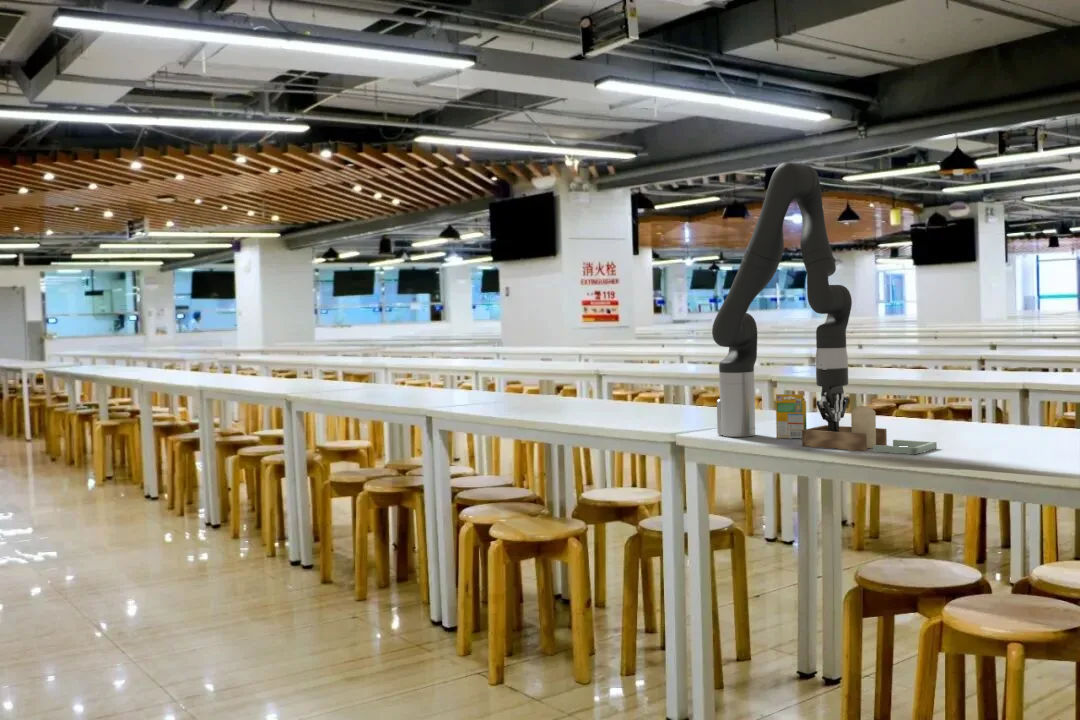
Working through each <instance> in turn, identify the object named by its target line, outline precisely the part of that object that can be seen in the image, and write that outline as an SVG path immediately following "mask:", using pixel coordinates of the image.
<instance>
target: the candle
mask: <svg viewBox="0 0 1080 720" xmlns="http://www.w3.org/2000/svg"><path fill="white" fill-rule="evenodd" d="M850 417H851V418H850V419H851V425H850V427H852V433H865V434H866V438H867V448H870V449H873V445H876V428H877V427H876V423H877V422H876V421H877V420H876V417H877V416H876V411H875V410H874V409H873V408H872V407H871V406H868V405H867V406H864V405H857V406H855V408H854V409H852V411H851V415H850Z"/></svg>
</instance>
